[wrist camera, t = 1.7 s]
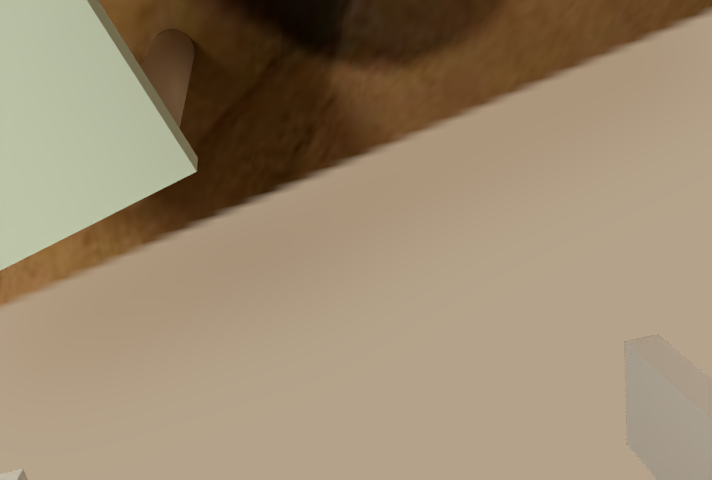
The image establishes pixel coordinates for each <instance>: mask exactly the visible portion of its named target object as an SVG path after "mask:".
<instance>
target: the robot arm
mask: <svg viewBox="0 0 712 480" xmlns="http://www.w3.org/2000/svg"><path fill="white" fill-rule="evenodd" d="M625 380H626V381H625V382H626V422H627V423H626V424H627V445H628V446H629V447H630V448H631V449H632V451H633V452H634V453H635V454H636V455H637V457H638V458H639V459H640V460H641V461H642V463H643V464H644V465H645V466H646V467H647V469H648V470H649V471H650V472H651V473H652V475H653V476H654V477H655V478H656V479H657V480H712V378H711V377H709V376H708V375H707V374H706V373H704V372H703V371H702V370H701V369H699V368H698V367H697V366H696V365H695V364H693V363H692V362H691V361H690V360H689V359H687V358H686V357H685V356H684V355H682V354H681V353H680V352H679V351H677V350H676V349H675V348H674V347H672V346H671V345H670V344H669V343H668V342H666V341H665V340H664V339H663V338H661V337H660V336H659V335H653V336H649V337H644V338H639V339H634V340H629V341H625ZM0 480H27V477H26V475H25V473H24V470H23V469H21V470H16V471H11V472H7V473H2V474H0Z"/></svg>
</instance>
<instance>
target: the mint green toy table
mask: <svg viewBox="0 0 712 480" xmlns="http://www.w3.org/2000/svg"><path fill="white" fill-rule="evenodd" d="M194 55H195V49H194V45H193V43H192V41H191V39H190V38H189V37H188V36H187V35H186V34H185V33H183V32H181V31H179V30H174V29H170V30H165V31H163V32H161V33H160V34H158V35H157V37H156V38H155V40H154V42H153V44H152V46H151V47H150V49H149V51H148V53H147V55H146V57H145V59H144V61H143V63H142V64H141V66H140V65H139V64H138V62H137V61H136V59H135V57H134V56H133V54H132V53H131V51H130V50H129V48H128V46H127V45H126V43H125V42H124V40H123V39H122V37H121V35H120V34H119V32H118V31H117V29H116V27H115V26H114V24H113V23H112V21H111V20H110V18H109V16H108V15H107V13H106V12H105V10H104V8H103V7H102V5H101V4H100V2H99V1H98V0H0V270H2V269H4V268H6V267H8V266H10V265H12V264H14V263H16V262H18V261H20V260H22V259H24V258H26V257H28V256H30V255H32V254H34V253H36V252H38V251H40V250H42V249H44V248H46V247H48V246H50V245H52V244H54V243H56V242H58V241H60V240H62V239H64V238H66V237H68V236H70V235H72V234H74V233H76V232H78V231H80V230H82V229H84V228H86V227H88V226H90V225H92V224H94V223H96V222H98V221H100V220H102V219H104V218H106V217H108V216H110V215H112V214H114V213H116V212H117V211H119V210H121V209H123V208H125V207H127V206H129V205H131V204H133V203H135V202H137V201H139V200H141V199H143V198H145V197H147V196H149V195H151V194H153V193H155V192H157V191H159V190H161V189H163V188H165V187H167V186H169V185H171V184H173V183H175V182H177V181H179V180H181V179H183V178H185V177H187V176H189V175H191V174H193V173H195V172H197V164H198V157H197V156H196V154H195V152H194V151H193V149H192V148H191V146H190V145H189V143H188V141H187V140H186V138H185V137H184V135H183V133H182V132H181V130H180V124H181V119H182V114H183V109H184V104H185V99H186V94H187V89H188V85H189V80H190V75H191V70H192V65H193V60H194Z"/></svg>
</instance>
